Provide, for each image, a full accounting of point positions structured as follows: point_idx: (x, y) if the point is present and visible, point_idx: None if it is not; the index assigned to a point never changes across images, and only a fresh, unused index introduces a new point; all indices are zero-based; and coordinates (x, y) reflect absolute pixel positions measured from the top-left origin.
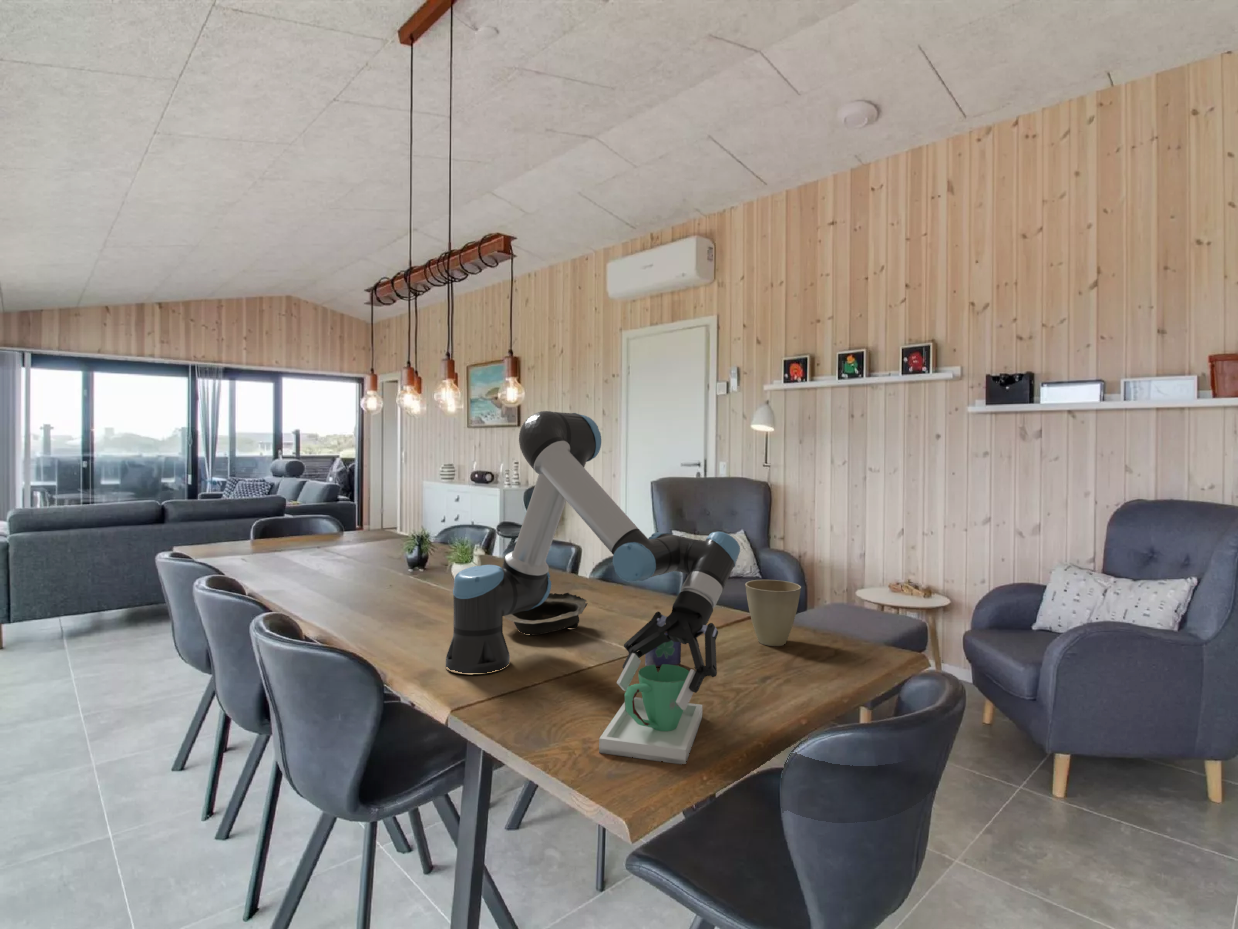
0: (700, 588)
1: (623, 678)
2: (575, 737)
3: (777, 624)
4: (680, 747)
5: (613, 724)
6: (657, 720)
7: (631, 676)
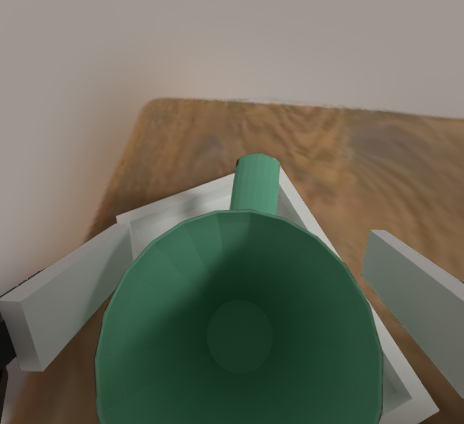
0: None
1: (382, 246)
2: (347, 189)
3: None
4: (128, 218)
5: (301, 215)
6: (228, 283)
7: (393, 300)
